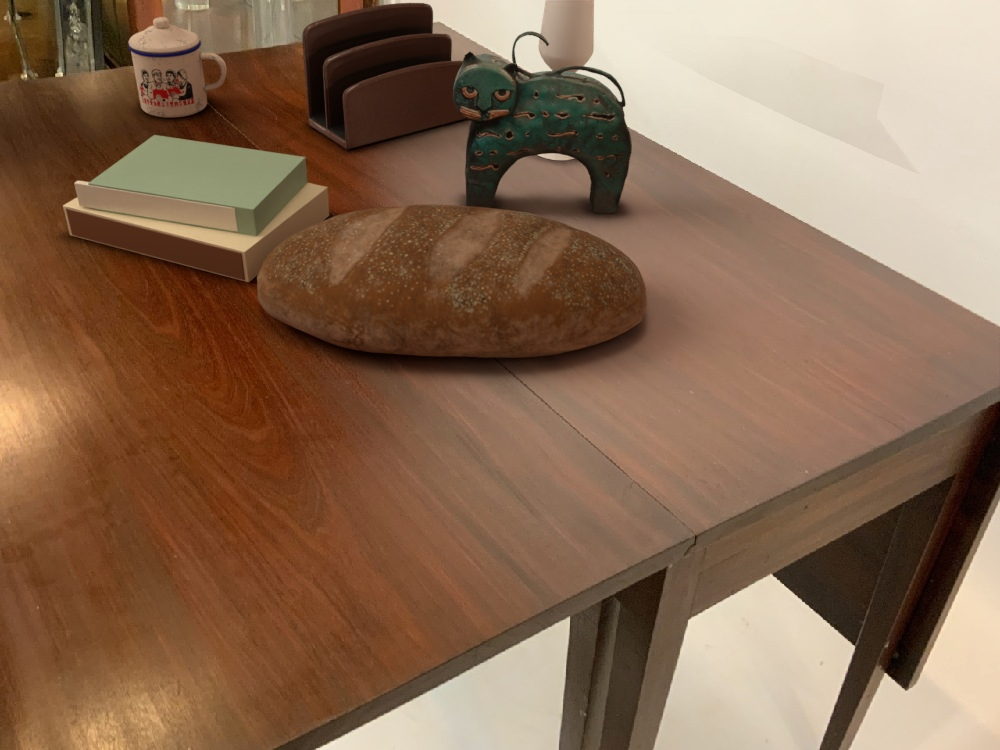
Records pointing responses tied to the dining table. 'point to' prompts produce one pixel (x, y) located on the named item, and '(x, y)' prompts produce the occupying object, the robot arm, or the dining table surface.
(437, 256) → the bread
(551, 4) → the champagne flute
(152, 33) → the teacup with lid
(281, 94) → the dining table surface
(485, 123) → the ceramic cat
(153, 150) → the book stack
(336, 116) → the letter holder
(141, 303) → the dining table surface
